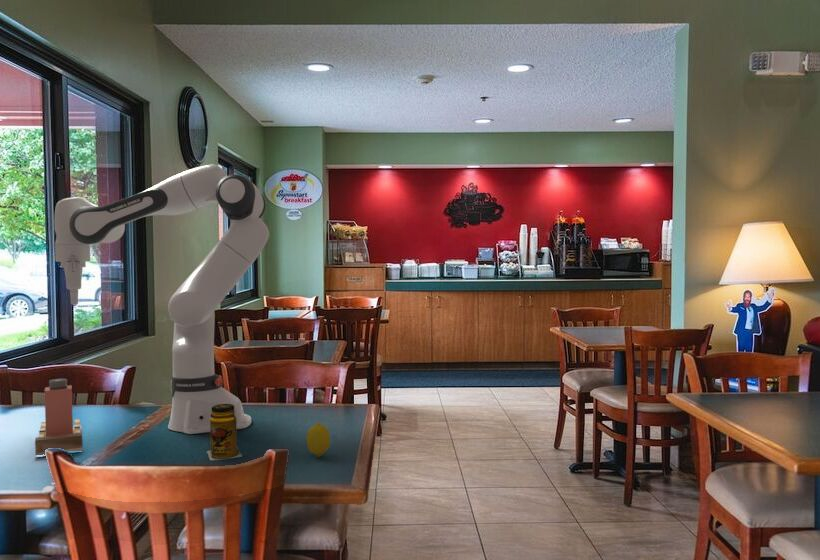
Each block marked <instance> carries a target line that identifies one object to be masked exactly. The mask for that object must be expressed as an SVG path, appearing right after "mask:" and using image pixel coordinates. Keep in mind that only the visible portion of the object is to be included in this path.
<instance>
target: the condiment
mask: <svg viewBox="0 0 820 560" xmlns="http://www.w3.org/2000/svg"><path fill="white" fill-rule="evenodd" d="M211 410H212V414H211V415H212V417H211V419H210V432H209V434H210V435H209V436H210V450H207V451H206V454H207V455H208V458H209V460H210V461H211V462H212V461H222V460H229V459H235V458H241V457H243V455H242V454H241V452H240V450H239V447H238V434H237V433H238V432H237V431H238V429H237V425H236V424H237V423H236V416H235V415H234V413H235V411H234V405H232V404H219V405H215V406H213V407H212V409H211Z"/></svg>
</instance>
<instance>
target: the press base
mask: <svg viewBox="0 0 820 560" xmlns="http://www.w3.org/2000/svg"><path fill="white" fill-rule="evenodd" d="M80 420H81V419H80V418H74V425H73V433H72V434H63V435H54V436H46V421H43V422H42V421H41V422H40V427H39V428H40V429H39V431H38V432H39V433H38V437H35V439H34V445H35V447H34V449H35V456H36V455H43V454H44V455H45V450H46V449H48V448H61V449H64V450H66V451H82V452H83V432H82V425H81V424H80Z"/></svg>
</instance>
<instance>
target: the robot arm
mask: <svg viewBox="0 0 820 560" xmlns="http://www.w3.org/2000/svg"><path fill="white" fill-rule="evenodd" d="M212 204H218V205H219V207H220V208H221V210H222V211H223V212H224V214H225V216H226V217H227V218H228V219H229V220H230V226H229V227H228V229H227V230H226V232H225V233H224V234H223V236H222V237H221V238H220V239H219V241H217V243H215V245H214V247H213V248H212V249H211V250H210V251H209V253H208V254H207V255H206V256H205V258H204V259H203V260H202V261H201V262H200V263H199V264H198V265H197V267H196V268H195V269H194V270H193V271H192V272H191V274H189V276H188V277H187V278H186V279H185V280H184V281H183V282H182V283H181V285H180V286H179V287H178V288H177V289H176V291H175V292H174V293H173V294H172V296H171V297H170V298H169V301H168V305H167V311H168V314H169V317H170V319H171V321H172V322H174V323H173V339H172V347H171V350H172V353H171V354H172V356H171V357H172V376H171V378H170V379H171V380H170V392H171V393H170V394H171V398H172V400H171V401H172V402H171V403H172V404H171V410H170V417H169V422H168V426H167V429H168V430H171V431H174V432H181V433H184V434H187V435H193V434H202V433H210V419H211V417H212V415H211V414H212V410H211V409H212V407H213V406H215V405H219V404H232V405H234V411H235V413H234V415H235V416H236V423H237V424H236V425H237V430H242V429H246V428H248V427H249V426H250V425H251V424H252V416H250V415H249V414H246V413H244V409H243V404H242V401H241V400H240V398H239V397H237V396H236V395H234V394H233V393H232V392H230V391H228V390H227V389H225V388H224V387H223V382H224V381H223V377H222V376H221V375H220V374H219V375H218V374H217V373H215V348H214V347H215V322H216V320H215V317H216V314H215V312H216V309H217V308H218V307H219V305H220V304H221V303H222V301H223V300H224V299H225V298H226V296H228V294H229V293H230V292H231V291H232V289H233V288H234V287H235V286H236V284H238V283H239V281H240V280H241V279H242V277H243V276H244V275H245V274H246V273H247V271H248V269H250V267H252V265H253V264H254V262H255V261H256V260H257V258H259V256H260V254H261V252H262V251H263V249H264V248H265V246H266V244H267V243H268V240H269V238H270V230H269V228H268V226H267V224H266V223H265V222H264V221H263V220H261V218H262V217H263V216H264V214H265V211H266V201H265V198H264V196H263V194H262V193H261V192H260V190H259V188H258V187H257V186H256V185H255V184H254V183H253V182H252V181H251V180H250V179H249V178H248V177H246V176H244V175H242V174H229V175H227V173H226V172H225V170H224V169H223V168H222V167H220V166H219V165H218V164H215V163H211V164H205V165H201V166H196V167H194V168H193V167H192V168H190V169H187V170H184V171H182V172H180V173H177V174H175V175H172V176H171V177H168V178H167V179H165V180H162V181H161V182H158V183H157V184H155V185H153V186H151V187H149V188H147V189H145V190H143V191H141V192H138V193H136V194H133V195H130V196H128V197H125V198H122V199H119V200H117V201H114V202H112V203H108V204H106V205H99V206H98V205H96V204H94V203H92V202H90V201H89V200H88V199H86V198H85V197H82V196H76V197H74V196H73V197H67V198H62V199H61V200H58V202H56V205H55V207H54V208H55V209H54V223H53V224H54V225H53V226H54V232H55V237H56V238H55V243H54V253H55V255H54V256H55V262H56V263H57V262H58V263H59V262H60V268H61V269H62V268H63V271H64V276H65V284H66V285H65V286H66V289H67V290H69V295H70V304H71V305H72V306H75V305H78V304H79V290H81V289H82V280H83V279H82V278H83V270H84V268H86V267H87V266H86V265H87V264H86V263H87V262H91V245H94V244H111V243H115V242H117V241H119V240H120V239H121V238H122V237H123V236H124V233H125V232H126V224H129V223H130V222H134V221H137V220H139V219H142V218H145V217H151V216H180V215H185V214H187V213H191V212H194V211H197V210H199V209H201V208H203V207H207V206H208V205H212Z"/></svg>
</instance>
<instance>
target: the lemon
mask: <svg viewBox="0 0 820 560" xmlns="http://www.w3.org/2000/svg"><path fill="white" fill-rule="evenodd" d="M306 445H307V448H308V450H309V452H310V453H312V454H313V455H316V457H319V458H320V457H321V456H322V455H323V454H325V453H326V452H327V451H328V450H329V448H330V445H331V435H330V431H329V429H328V427H327V426H325V425H323V424H321V423H320V422H317V423H316V424H314V425H312V426H311V427H310V428H309V430H308V432H307V435H306Z"/></svg>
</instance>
